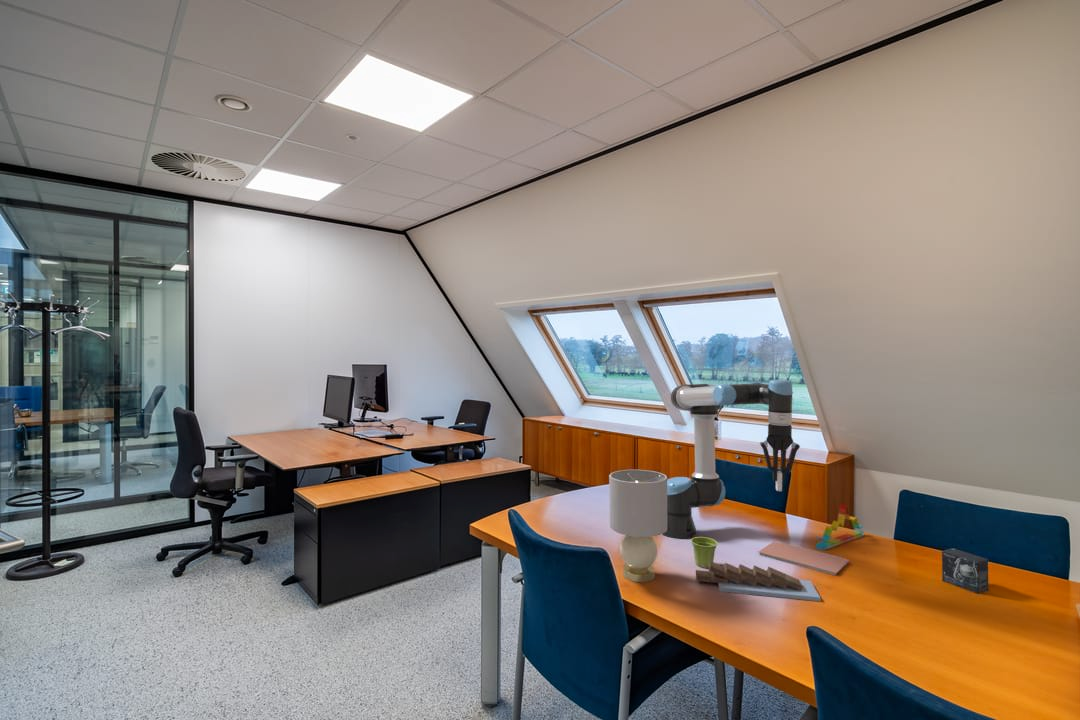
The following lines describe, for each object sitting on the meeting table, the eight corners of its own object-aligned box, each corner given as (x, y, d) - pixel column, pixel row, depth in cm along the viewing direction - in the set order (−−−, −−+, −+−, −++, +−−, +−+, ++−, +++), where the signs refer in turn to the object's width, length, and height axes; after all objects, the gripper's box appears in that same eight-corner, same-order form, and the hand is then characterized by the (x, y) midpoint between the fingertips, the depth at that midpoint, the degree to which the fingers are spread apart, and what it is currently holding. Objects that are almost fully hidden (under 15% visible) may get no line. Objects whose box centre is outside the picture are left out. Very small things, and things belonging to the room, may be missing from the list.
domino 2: (738, 584, 169) (709, 570, 171) (736, 577, 174) (708, 564, 176) (740, 579, 169) (711, 566, 171) (738, 573, 173) (709, 560, 176)
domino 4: (770, 587, 166) (739, 574, 169) (767, 581, 171) (737, 568, 173) (772, 583, 166) (741, 569, 168) (769, 577, 171) (739, 563, 173)
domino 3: (755, 586, 167) (725, 572, 170) (753, 579, 172) (724, 566, 175) (757, 582, 167) (727, 568, 170) (755, 575, 172) (725, 562, 174)
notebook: (850, 563, 189) (850, 558, 189) (836, 577, 177) (836, 571, 177) (775, 544, 209) (775, 539, 209) (758, 556, 197) (758, 551, 197)
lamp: (631, 559, 194) (631, 467, 193) (679, 575, 179) (678, 475, 179) (598, 575, 179) (597, 476, 179) (646, 594, 165) (646, 486, 165)
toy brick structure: (823, 551, 201) (823, 513, 200) (815, 548, 203) (815, 511, 203) (864, 536, 216) (864, 501, 216) (856, 534, 219) (856, 499, 219)
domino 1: (727, 583, 170) (696, 580, 172) (726, 577, 174) (695, 574, 177) (727, 579, 170) (696, 576, 172) (726, 572, 174) (695, 569, 177)
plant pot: (717, 561, 191) (717, 538, 191) (717, 571, 182) (717, 547, 182) (691, 558, 194) (691, 535, 194) (690, 568, 185) (690, 544, 185)
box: (941, 581, 173) (940, 550, 173) (952, 577, 176) (952, 547, 175) (978, 594, 163) (978, 562, 163) (989, 590, 166) (989, 558, 166)
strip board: (719, 591, 167) (719, 587, 167) (716, 575, 179) (716, 572, 178) (820, 601, 159) (820, 597, 159) (810, 584, 171) (810, 581, 171)
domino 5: (785, 589, 165) (754, 575, 167) (782, 582, 170) (752, 569, 172) (787, 584, 165) (756, 571, 167) (784, 578, 170) (754, 565, 172)
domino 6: (800, 590, 164) (769, 577, 166) (797, 584, 169) (766, 570, 171) (802, 586, 164) (771, 572, 166) (799, 579, 169) (768, 566, 171)
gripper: (761, 424, 177) (760, 491, 178) (802, 426, 174) (801, 494, 175) (758, 421, 184) (757, 485, 185) (797, 422, 181) (796, 488, 182)
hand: (778, 490), depth 180 cm, fingers closed
